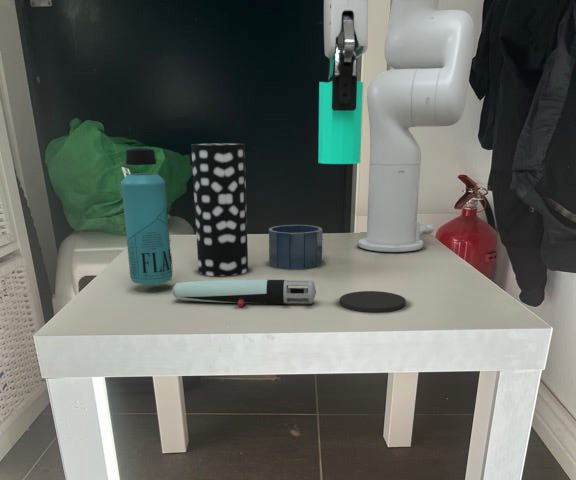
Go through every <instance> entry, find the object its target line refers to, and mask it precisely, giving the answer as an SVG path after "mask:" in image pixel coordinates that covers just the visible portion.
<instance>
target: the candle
mask: <svg viewBox="0 0 576 480" xmlns="http://www.w3.org/2000/svg"><path fill="white" fill-rule="evenodd" d="M318 83H319V84H318V154H317V157H318V158H317V160H318V161H317V163H318V164H324V165H354V164H360V163H361V154H362V153H361V150H362V122H363V118H362V117H363V99H364V98H363V96H364V82H363V81H360V80H357V98H356V109H355V110H353V111H334V110H333V109H332V81H331V82H328V83H327V81H319V82H318Z"/></svg>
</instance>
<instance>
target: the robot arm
mask: <svg viewBox="0 0 576 480" xmlns="http://www.w3.org/2000/svg"><path fill="white" fill-rule="evenodd" d="M439 3H440V0H391V5H390V12H389V18H388V22H387V28H386V34H385V41H384V60H385V61H386V64H387V65H388V66H389V67H390V68H392V69H387V70H384V71H381V72H379V73H377V74H376V75H374V76H373V78H372V79H371V80H370V81H369V84H368V85H367V86H368V87H367V92H366V94H367V95H366V104H367V105H366V106H367V114H368V123H369V170H368V171H369V172H368V193H367V195H368V196H367V197H368V198H367V220H366V222H367V223H366V236H365V237H363V238H360V239H359V240H358V247H359V248H361V249H363V250H367V251H373V252H378V253H379V252H380V253H409V252H414V251H419V250H421V249H423V248H424V241H423V240H422V239H420V237H421V236H422V235H429V234H432V233H433V232H434V225H433V224H432V223H424V224H421V222H418V208H419V207H418V206H419V191H420V179H421V178H420V177H421V164H422V152H421V147H420V146H419V143H418V142H417V140H416V139H415V137H414V135H413V134H412V132H411V131H410V128H416V127H448V126H449V127H450V126H453V125H455V124H457V123H458V122H459V121H460V119H462V116H463V113H464V110H465V106H466V101H467V94H468V88H469V81H470V75H471V69H472V62H473V57H474V50H475V49H474V48H475V39H476V38H475V37H476V36H475V35H476V34H475V33H476V31H475V24H474V20H473V17H472V16H471V14H469V13H468V12H467V11H465V10H463V9H442V10H441V9H440V10H439V9H438V8H439ZM323 45H324V47H323V48H324V56H325V57H326V58H328V59H329V61H328V63H329V64H328V80H327V81H326V82H327V83H328V82H331V81H332V109H333V110H334V111H353V110H355V109H356V98H357V81H358V77H357V71H358V70H357V59H358V58H360V57H361V56H363V55H364V54H365V53H366V52H367V50H368V47H369V0H323Z"/></svg>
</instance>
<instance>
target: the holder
mask: <svg viewBox="0 0 576 480" xmlns="http://www.w3.org/2000/svg"><path fill="white" fill-rule="evenodd" d="M268 262H269V263H268V265H269V266H270V267H274V268H276V269H286V270H304V269H305V270H306V269H312V268H313V269H314V268H317V267H319V266H322V265H323V228H322V227H320V226H316V225H310V224H309V225H308V224H284V225H276V226H275V225H274V226H272V227H269V228H268Z"/></svg>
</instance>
